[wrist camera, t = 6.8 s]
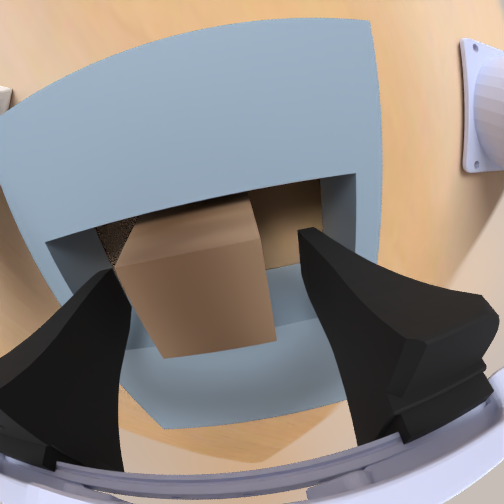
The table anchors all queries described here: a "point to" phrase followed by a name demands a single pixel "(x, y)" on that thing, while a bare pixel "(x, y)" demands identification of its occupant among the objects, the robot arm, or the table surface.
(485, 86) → the robot arm
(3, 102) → the syrup box
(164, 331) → the walnut block
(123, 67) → the well stand
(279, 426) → the table surface
